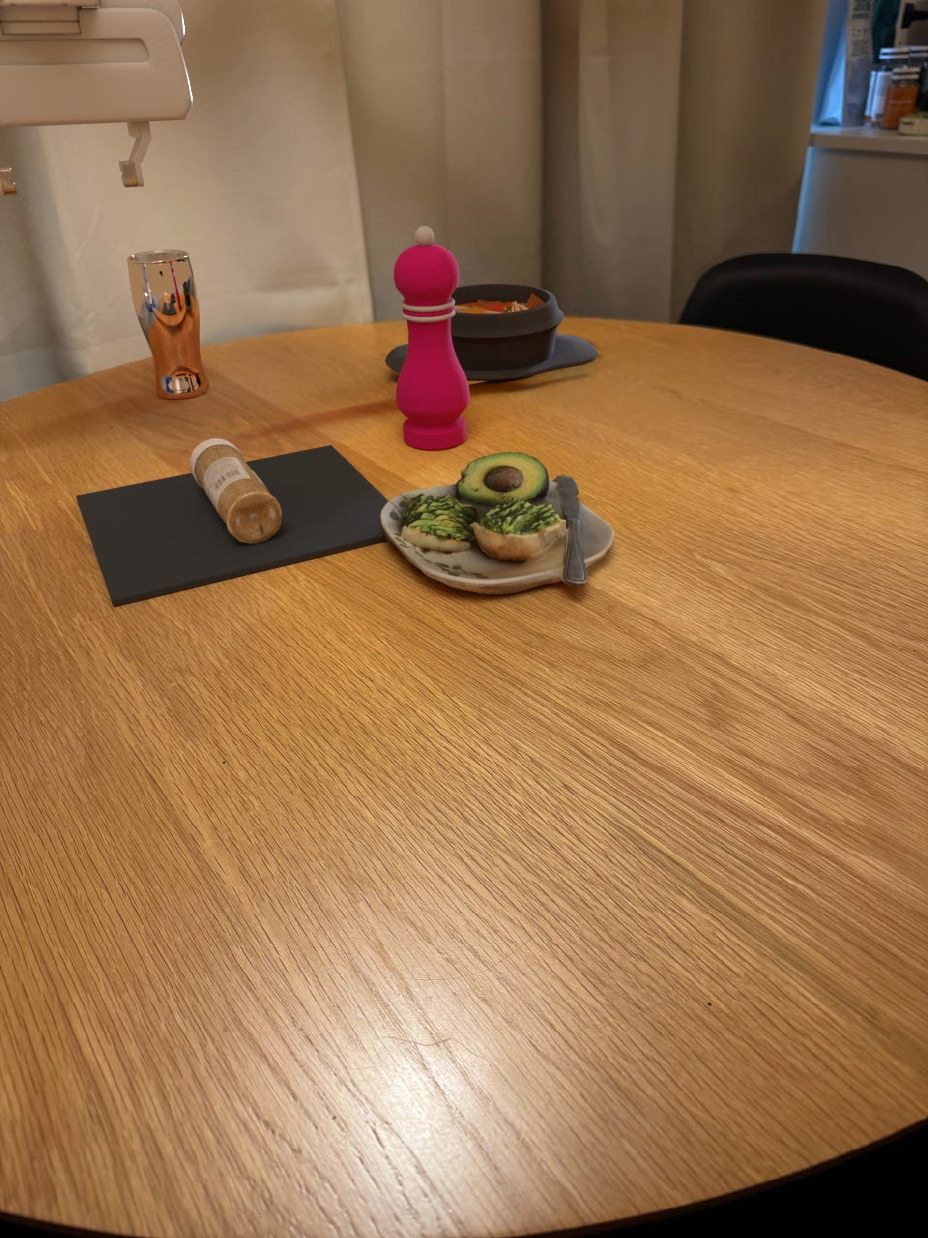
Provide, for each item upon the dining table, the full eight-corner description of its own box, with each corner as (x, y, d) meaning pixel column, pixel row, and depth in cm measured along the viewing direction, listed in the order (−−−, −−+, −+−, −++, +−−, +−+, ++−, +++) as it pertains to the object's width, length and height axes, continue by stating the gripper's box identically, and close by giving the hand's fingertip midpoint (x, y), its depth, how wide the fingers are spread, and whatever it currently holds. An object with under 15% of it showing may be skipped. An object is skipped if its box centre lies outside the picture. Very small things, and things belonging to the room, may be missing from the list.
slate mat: (113, 607, 71) (111, 600, 70) (77, 501, 87) (75, 495, 87) (416, 533, 79) (416, 527, 79) (331, 450, 95) (331, 444, 95)
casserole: (579, 342, 124) (581, 273, 120) (613, 388, 108) (616, 311, 104) (383, 354, 122) (378, 285, 118) (389, 403, 107) (383, 325, 102)
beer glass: (181, 404, 109) (154, 264, 101) (139, 395, 112) (110, 258, 104) (226, 386, 113) (204, 251, 106) (184, 378, 117) (160, 246, 109)
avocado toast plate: (676, 582, 71) (683, 525, 69) (452, 634, 65) (451, 575, 63) (552, 481, 86) (555, 432, 84) (361, 517, 80) (358, 465, 78)
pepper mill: (456, 456, 93) (447, 234, 82) (387, 448, 95) (369, 232, 85) (481, 429, 99) (475, 219, 88) (415, 423, 101) (402, 217, 90)
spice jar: (294, 511, 77) (250, 455, 87) (249, 481, 74) (209, 426, 85) (259, 556, 77) (219, 494, 88) (213, 527, 75) (178, 467, 85)
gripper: (169, -19, 75) (196, 176, 82) (-129, -22, 68) (-70, 193, 75) (186, -23, 70) (213, 186, 77) (-134, -26, 63) (-71, 205, 70)
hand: (71, 190), depth 76 cm, fingers open, 8 cm apart
